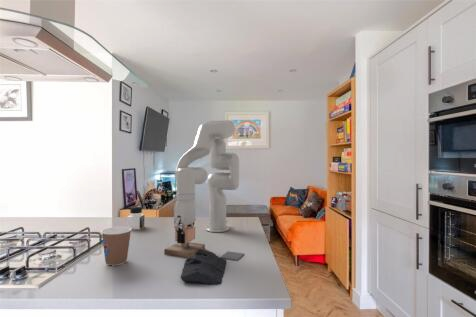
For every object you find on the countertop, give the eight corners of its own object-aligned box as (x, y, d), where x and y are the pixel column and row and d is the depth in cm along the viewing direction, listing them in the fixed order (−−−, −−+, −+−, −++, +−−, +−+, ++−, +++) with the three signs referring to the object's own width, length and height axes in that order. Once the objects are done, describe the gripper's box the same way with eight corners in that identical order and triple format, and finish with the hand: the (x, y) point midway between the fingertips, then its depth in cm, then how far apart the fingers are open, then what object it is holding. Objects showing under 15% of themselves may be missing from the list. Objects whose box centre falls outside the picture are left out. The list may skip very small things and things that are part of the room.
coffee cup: (101, 259, 102) (102, 227, 102) (130, 256, 106) (131, 225, 106) (99, 269, 93) (100, 234, 93) (131, 265, 97) (132, 231, 97)
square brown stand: (180, 245, 120) (180, 225, 120) (204, 248, 116) (204, 227, 116) (164, 254, 109) (164, 231, 109) (190, 258, 104) (190, 234, 104)
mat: (227, 252, 112) (227, 251, 112) (244, 254, 109) (244, 253, 109) (220, 258, 104) (220, 257, 104) (237, 260, 102) (237, 259, 102)
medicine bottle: (139, 229, 148) (140, 207, 148) (126, 229, 148) (127, 207, 148) (144, 226, 155) (144, 205, 155) (132, 226, 155) (132, 205, 155)
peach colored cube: (182, 237, 116) (183, 225, 116) (195, 238, 114) (195, 226, 114) (175, 241, 110) (175, 228, 110) (187, 242, 108) (188, 230, 108)
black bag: (172, 286, 82) (172, 270, 82) (187, 260, 104) (187, 247, 104) (222, 287, 81) (222, 271, 81) (227, 260, 103) (227, 248, 103)
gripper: (188, 194, 122) (187, 234, 121) (165, 199, 106) (165, 245, 105) (203, 195, 119) (202, 236, 119) (182, 200, 103) (182, 248, 103)
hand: (185, 240), depth 112 cm, fingers closed on peach colored cube, 6 cm apart
